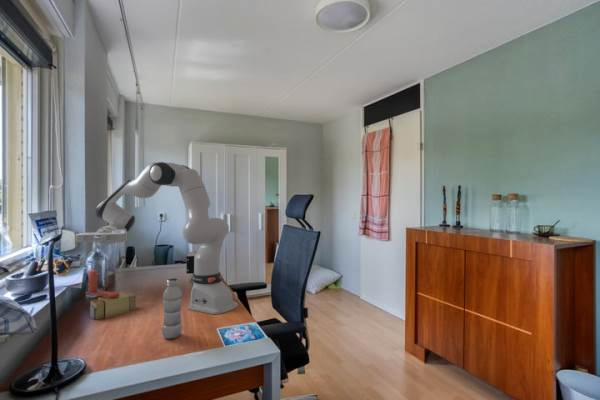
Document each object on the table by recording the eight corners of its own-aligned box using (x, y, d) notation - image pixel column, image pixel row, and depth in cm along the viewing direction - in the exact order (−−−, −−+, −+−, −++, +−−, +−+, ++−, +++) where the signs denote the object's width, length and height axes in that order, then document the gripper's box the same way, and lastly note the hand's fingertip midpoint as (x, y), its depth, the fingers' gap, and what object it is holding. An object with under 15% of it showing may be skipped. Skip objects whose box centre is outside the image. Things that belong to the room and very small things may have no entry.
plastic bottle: (175, 331, 113) (176, 276, 113) (185, 336, 108) (186, 279, 108) (158, 337, 108) (158, 279, 108) (168, 343, 103) (168, 283, 103)
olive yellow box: (129, 305, 139) (130, 290, 139) (137, 309, 134) (137, 294, 134) (88, 315, 126) (88, 299, 126) (95, 320, 121) (95, 303, 121)
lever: (121, 294, 132) (121, 271, 132) (114, 297, 128) (114, 273, 128) (93, 292, 134) (93, 269, 134) (85, 295, 130) (85, 271, 130)
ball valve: (202, 285, 171) (202, 253, 171) (185, 286, 169) (186, 254, 169) (203, 277, 188) (204, 248, 188) (188, 278, 186) (189, 248, 186)
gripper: (81, 229, 147) (70, 232, 134) (129, 228, 154) (123, 231, 141) (81, 242, 147) (70, 247, 134) (129, 241, 154) (123, 245, 141)
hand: (97, 239), depth 138 cm, fingers closed
